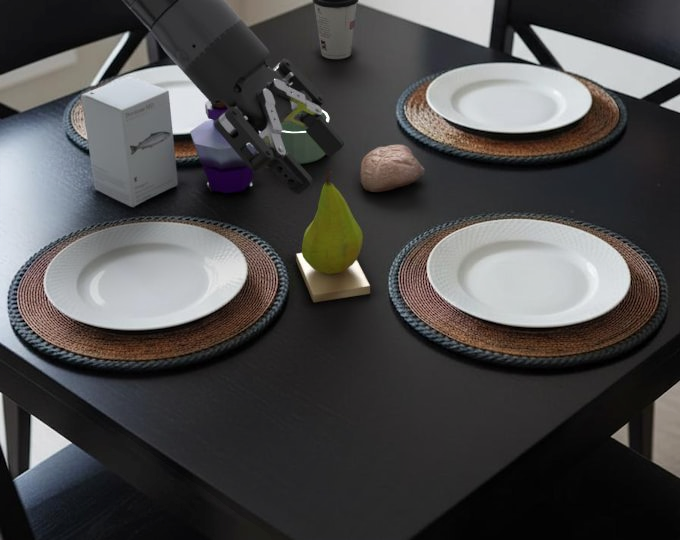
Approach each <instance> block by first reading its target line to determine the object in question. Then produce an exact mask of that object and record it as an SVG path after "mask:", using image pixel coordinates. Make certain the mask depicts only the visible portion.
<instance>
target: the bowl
mask: <svg viewBox="0 0 680 540" xmlns="http://www.w3.org/2000/svg"><path fill="white" fill-rule="evenodd" d="M322 112H323V113H322V116H323V118H324V119H325V120H326V121H327V122H328V123H329V125H330V126H331V116H329V115H330V114H328V112H327V111H326V110H324V109H322ZM299 113H301V114H302V112H299ZM281 126H282V133H281V139H282V141H283V144H284V147H285V150H286V154H287V153H288V152H289V153H290V154H291V155H292V156H293V158H294V159H295V160H296V161H297V162H298V163H299V164H300V165H303V164H309V163H313V162H317V161H319V160H321V159H322V158H323V157H325V156H327V155H326V154H325V152H324V151H323V150H322V149H321V148H320V147H319V146H318V145H317V143H316V142H315V141H314V140H313V139H312V138H311V137H310V136H309V134H308V133H307V132H306V131H305V130H306V129H307V128H308V127H302V126H300V125H298V124H296V123H294V122H282V123H281ZM268 146H269V148H271V147H272V146H271V143H269V144H268Z"/></svg>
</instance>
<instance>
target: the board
mask: <svg viewBox="0 0 680 540" xmlns="http://www.w3.org/2000/svg"><path fill="white" fill-rule="evenodd" d="M295 262H296V263H297V267H298V269H299V271H300V274H301V276H302V278H303V281H304V284H305V286H306V288H307V290H308V292H309V295H310V298H311V300H312V302H313V303H319V302H326V301H332V300H333V301H334V300H338V299H339V300H340V299H345V298H350V297H351V298H352V297H359V296H365V295H369V294H371V285H370V283H369V281H368V278H367V276H366V275H365V273H364V271H363V269H362V267H361V266H360V263H359V261H358V259H357V260H356V261H355V262H354V263H353V265H351V266H350V267H349V268H347V269H346V270H344V271H343V272H340V273H336V274H326V273H323V272H320V271H317V270H315V269H313V268H312V267H311V266H310V265H309V264H308V263H307V262H306V261H305V259H304V258H303V255H302V252H299V253H295Z"/></svg>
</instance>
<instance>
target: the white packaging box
mask: <svg viewBox="0 0 680 540" xmlns="http://www.w3.org/2000/svg"><path fill="white" fill-rule="evenodd" d="M80 97H81V98H80V99H81V104H82V105H81V106H82V111H83V117H84V118H83V119H84V124H85V132H86V138H87V139H86V140H87V145H88V151H89V158H90V165H91V171H92V177H93V185H94V190H96V191H98V192H100V193H101V194H104V195H106V196H108V197H109V198H111V199H113V200H116V201H118V202H120V203H121V204H124V205H126V206H128V207H130V208H135V207H136V206H138V205H140V204H142V203H144V202H147V201H148V200H150V199H151V198H153V197H157V196H158V195H160V194H162V193H164V192H166V191H168V190H170V189H173V188H175V187H177V186H178V185H179V184H178V183H179V181H178V174H177V173H178V171H177V161H176V152H175V141H174V131H173V122H172V121H173V120H172V112H171V111H172V110H171V102H170V101H171V100H170V90H168V89H166V88H163V87H160V86H159V85H155V84H152V83H151V82H148V81H145V80H142V79H139V78H136V77H133V76H131V75H128V76H125V77H122V78H119V79H117V80H115V81H112V82H110V83H107V84H104V85H102V86H100V87H97V88H95V89H92V90H89V91H87V92H85V93H84V92H83V93H81V95H80Z"/></svg>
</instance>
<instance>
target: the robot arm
mask: <svg viewBox="0 0 680 540" xmlns="http://www.w3.org/2000/svg"><path fill="white" fill-rule="evenodd" d="M121 1H122V2H123V3H124V4H125V5H126V7H127V8H128V9H129V10H130V11H131V12H132V13H133V14H134V15H135V17H136V18H137V19H138V20H139V21H140V22H141V23H142V24H143V25H144V26H145V28H147V30H148V31H150V33H151V34H152V36H153V37H154V38H155V40H156V41H157V43H158V45H159V46H160V47H161V48H162V50H163V51H164V53H165V54H166V55H167V56H168V57H169V58H170V59H171V60H172V61H173V62H174V64H175V65H176V66H177V67H178V68H179V69H180V70H181V71H182V72H183V74H184V75H185V76H186V77H187V78H188V79H189V80H190V81H191V83H192V84H193V85H194V86H195V87H196V88H197V89H198V91H200V92H201V93H202V94H203V96H204V97H205V98H206V99H207V101H210V102H211V103H213V104H217V103H219V102H220V101H223V102H224V103H225V105H226V106H227V108H228V110H227V111H226V112H225V113H224V114H222V115H221V116H220V117H219V118H218V119H217V120H216V121H215V122H214V126H215V128H216V129H217V130H218V131H219V133H220V134H221V135H222V136H223V137H224V139H225V140H226V141H227V142H228V143H229V144H230V146H231V147H232V148H233V149H234V150H235V152H236V153H237V154H238V155H239V156H240V157H241V159H242V160H243V161H244V162H245V163H246V165H247V166H248V167H249V168H250V169H251V170H252V171H253V172H256V171H258V170H259V169H262V168H266V169H270V170H272V172H274V174H275V175H276V176H277V177H278V178H279V179H280V180H281V181H282V182H283V184H284V185H285V186H286V187H287V188H288V189H289V190H291V191H292V192H293V193H294V194H295V195H300V194H302V193H303V192H305V190H307V189H308V188H309V187H310V186H311V185H312V184H313V181H314V179H313V177H312V176H311V175H310V174H309V173H308V172H307V171H306V170H305V168H304V167H303V166H302V164H299V163H298V162H297V161H296V160H295V159H294V158H293V156H292V155H291V154H290V153H289V152H288V153H287V154H286V150H285V147H284V144H283V141H282V139H281V133H282V126H281V123H282V122H294V123H296V124H298V125H300V126H302V127H308V128H307V129H306V130H305V131H306V132H307V133H308V134H309V136H310V137H311V138H312V139H313V140H314V141H315V142H316V143H317V145H318V146H319V147H320V148H321V149H322V150H323V151H324V152H325V154H326V155H325V156H327V157H332V156H334V155H335V154H337V152H339V151H340V150H341V149H342V148H343V147H344V145H345V142H344V139H343V138H341V136H340V135H339V133H338V132H337V131H336V130H335V129H334V128H333V127H332V126H331V124H330V125H329V123H328V122H327V121H326V120H325V119H324V118H323V116H322V113H323V112H322V110H323V109H322V105H324V103H325V102H326V99H325V97H324V96H323V95H322V93H320V91H319V90H318V89H317V88H316V87H315V86H314V85H313V84H312V83H311V81H309V80H308V79H307V78H306V77H305V75H304V74H303V73H302V72H301V71H300V70H299V69H298V68H297V67H296V66H295V65H294V63H292V61H291V60H290V59H288V58H283V59H282V60H281V61H280V62H279V63H277V64H276V65H275V66H274V67H273V68H272V67H270V66H269V65H267V63H266V61H267V60H268V59H269V57H270V51H269V49H268V48H267V46H266V45H265V44H264V43H263V42H262V41H261V40H260V39H259V38H258V36H257V35H256V34H255V33H254V32H253V31H252V29H251V28H250V27H249V26H248V25H247V24H246V23H245V22H244V21H243V19H242V18H241V17H240V16H239V14H237V13H236V12H235V10H234V9H233V8H232V7H231V6H230V4H229V3H228V2H227V1H226V0H121ZM302 91H303V92H304V93H302ZM306 95H307V96H308V97H309V100H308V99H307V97H306ZM299 112H302V114H301V113H299ZM259 131H260V132H261V133H260V134H259ZM247 143H250V145H251V146H252V147H254V148H255V149H256V150H257V154H256V155H255V156H254V155H253V154H252V153H251V151H250V150H249V149H248V148H247V146H246V145H247ZM269 143H271V146H272V147H271V148H269V146H268V144H269Z"/></svg>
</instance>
